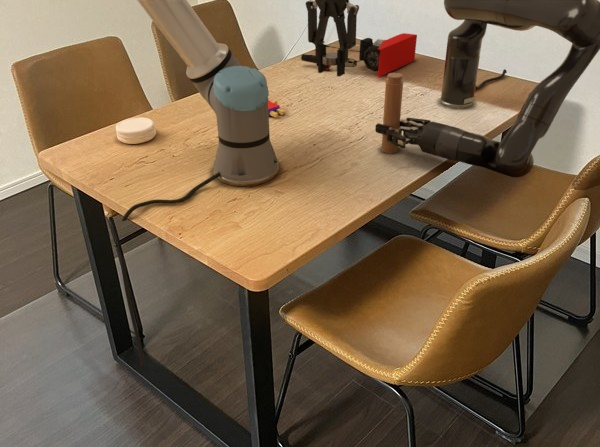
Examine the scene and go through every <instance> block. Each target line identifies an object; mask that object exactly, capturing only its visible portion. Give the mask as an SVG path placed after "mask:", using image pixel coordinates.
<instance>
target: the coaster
mask: <svg viewBox="0 0 600 447" xmlns="http://www.w3.org/2000/svg"><path fill="white" fill-rule="evenodd" d="M155 124H156V123H155V122H154V120H152V119H150V118H147V117H143V116H141V117H140V116H139V117H129V118H126V119H123V120H121V121H119V122H118V123H116V125H115V128H114V129H115V134H116V138H117V140H118V141H119V142H121V143H124V144H128V145H135V144H136V145H137V144H142V143H146V142H149V141H150V140H153V138H155V137H156V135H157V131H156V126H155Z"/></svg>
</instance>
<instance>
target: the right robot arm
mask: <svg viewBox="0 0 600 447" xmlns="http://www.w3.org/2000/svg"><path fill="white" fill-rule="evenodd" d="M443 6H444V10H445V12H446V13H447V15H448V16H449V18H451V19H453V20H455V21H463V22H462V23H461V24H460V25H458V26H457V27H455V28H454V29H452V30H451V31H449V33H448V35H447V42H446V49H445V50H446V51H445V59H444V68H443V77H442V85H441V94H440V98H439V99H440V100H439V101H440V104H441V105H443V106H444V107H448V108H451V109H467V108H470V107H473V105H474V102H475V93H476V91H479V90H481V88H482V87H483V86H485V84H488V83H490V82H495V81H498V80H500V79H503V78H504V77H505V75H506V74H507V70H506V69H505V68H504V69H503V70H502V73H501V75H499V76H495V77H491V78H487V79H486V80H483V81H482V82H481V83H480V84H479V85H478V86H477V78H478V72H479V64H480V59H481V50H482V43H483V39H484V37H485V35H486V33H487V28H488V25H491V26H495V27H500V28H504V29H507V30H513V31H519V32H525V31H529V30H532V29H534V28H535V27H539V28H542V29H545V30H549V31H551V32H554V33H555V34H556V35H558V36H560V37H561V38H564V39H565V40H566V41H567V42H569V43H571V46H570V49H569V50H568V53H567V55H566V57H565V58H564V59H563V61H562V62H561V64H560V65H559V66H557V68H556V69H554V70H553V71H552V72H551V73H550V74H549V75H547V76H546V77H545V78H544V79H542V80H541V81H540V82H539V83H537V85H536V86H534V88H532V90H531V91H530V92H529V94H528V95H527V97H526V99H525V100H524V103H523V105H522V107H521V108H520V111H519V113H518V115H517V117H516V119H515V121H514V123H513V124H512V126H511V127H510V128H509V130H508V131H507V132H506V133H505V135H504V136H503V138H502V139H501V141H497V140H494V139H491V138H490V137H488V136H486V135H482V134H479V133H475V132H471V131H468V130H465V129H463V128H459V127H456V126H452V125H449V124H445V123H440V122H436V121H432V120H430V119H424V118H415V117H406V119H403V118H402V119H401V118H400V127H399V128H396V127H390V126H387V125H383V123H376V124H375V127H374V128H375V130H374V131H375V133H377V134H380V135H382V134H384V135H387V141H388V142H390V143H392V144H394V145H396V146H398V148H400V149H405V148H406V147H407V146H406V145H412V146H418V147H419V148H420V151H421V152H422V153H423V154H427V155H431V156H435V157H438V158H442V159H445V160H449V161H453V162H454V161H455V162H459V163H463V164H467V165H469V166H475V167H481V168H484V169H487V170H488V171H489V170H490V171H492V172H495V173H498V174H501V175H504V176H507V177H509V178H522V177H524V176H526V175H528V174H529V173H530V172H531V170H532V169H533V167H534V164H535V163H534V162H535V161H534V160H535V159H534V157H533V154H532V152H533V150H534V148H535V147H536V145H537V143H538V142H539V140H540V139H542V138H544V137H545V136H546V134H547V133H548V131H549V130H550V128H551V126H552V123H553V122H554V120H555V118H556V116H557V114H558V113H559V110H560V108H561V107H562V105H563V103H564V101H565V100H566V98H567V96H568V95H569V93H570V91H571V90H572V89H573V87H574V86H575V85H576V83H577V82H578V80H579V79H580V78H581V77H582V75H583V74H584V72H585V71H586V70H587V69H588V67H589V66H590V64H591V62H592V61H593V60H594V58H595V57H596V56H597V54H598V53H599V51H600V1H599V0H443ZM394 131H397V132H398V133H396V132H394Z"/></svg>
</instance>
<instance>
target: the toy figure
mask: <svg viewBox="0 0 600 447" xmlns="http://www.w3.org/2000/svg"><path fill="white" fill-rule="evenodd" d="M268 108H269V117H270V116H271V117H273V118H277V117H279V115H281V116H283V115H285V114H286V110H284V109H282V108H281V107H280V105H279V104H278V101H277V100H269V99H268Z"/></svg>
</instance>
